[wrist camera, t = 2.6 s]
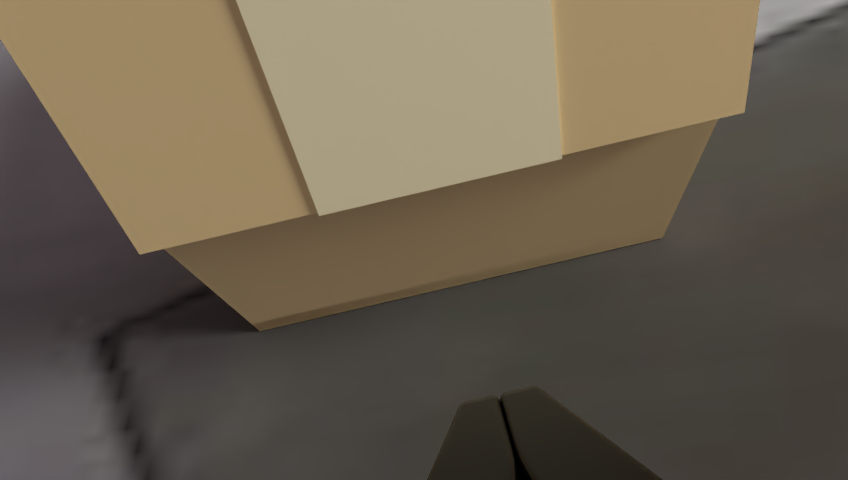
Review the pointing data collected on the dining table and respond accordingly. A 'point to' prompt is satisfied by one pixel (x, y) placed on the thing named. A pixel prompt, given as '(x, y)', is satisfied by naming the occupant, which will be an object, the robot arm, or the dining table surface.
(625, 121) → the box lid
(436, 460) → the robot arm
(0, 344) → the dining table surface
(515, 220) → the cardboard box
